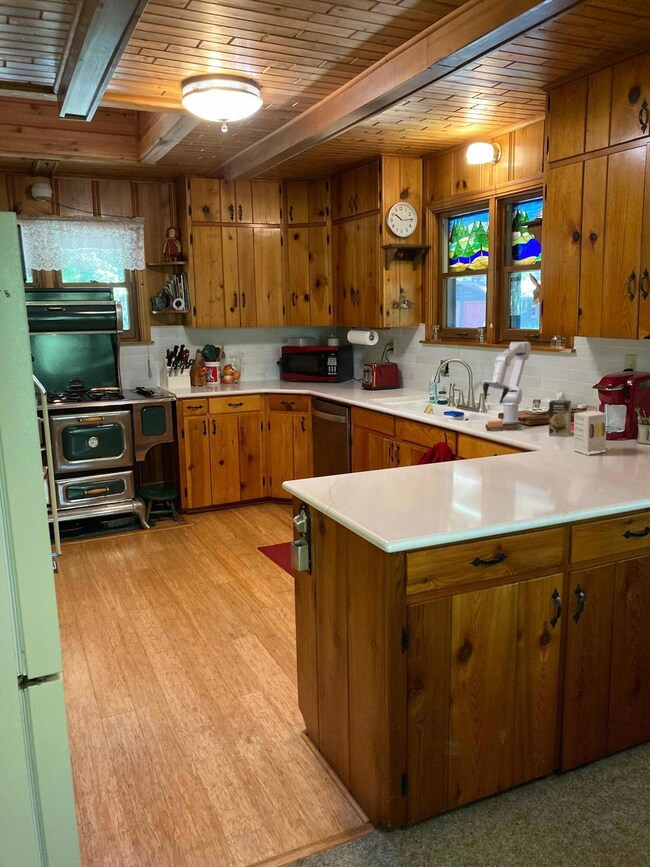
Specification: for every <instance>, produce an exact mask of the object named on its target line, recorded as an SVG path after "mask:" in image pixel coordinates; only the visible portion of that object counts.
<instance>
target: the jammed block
mask: <svg viewBox="0 0 650 867" xmlns="http://www.w3.org/2000/svg"><path fill="white" fill-rule="evenodd" d="M487 424H488V427H502V426H503V424H504V421H503V419H495V420H494V419H493V420H487Z"/></svg>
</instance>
